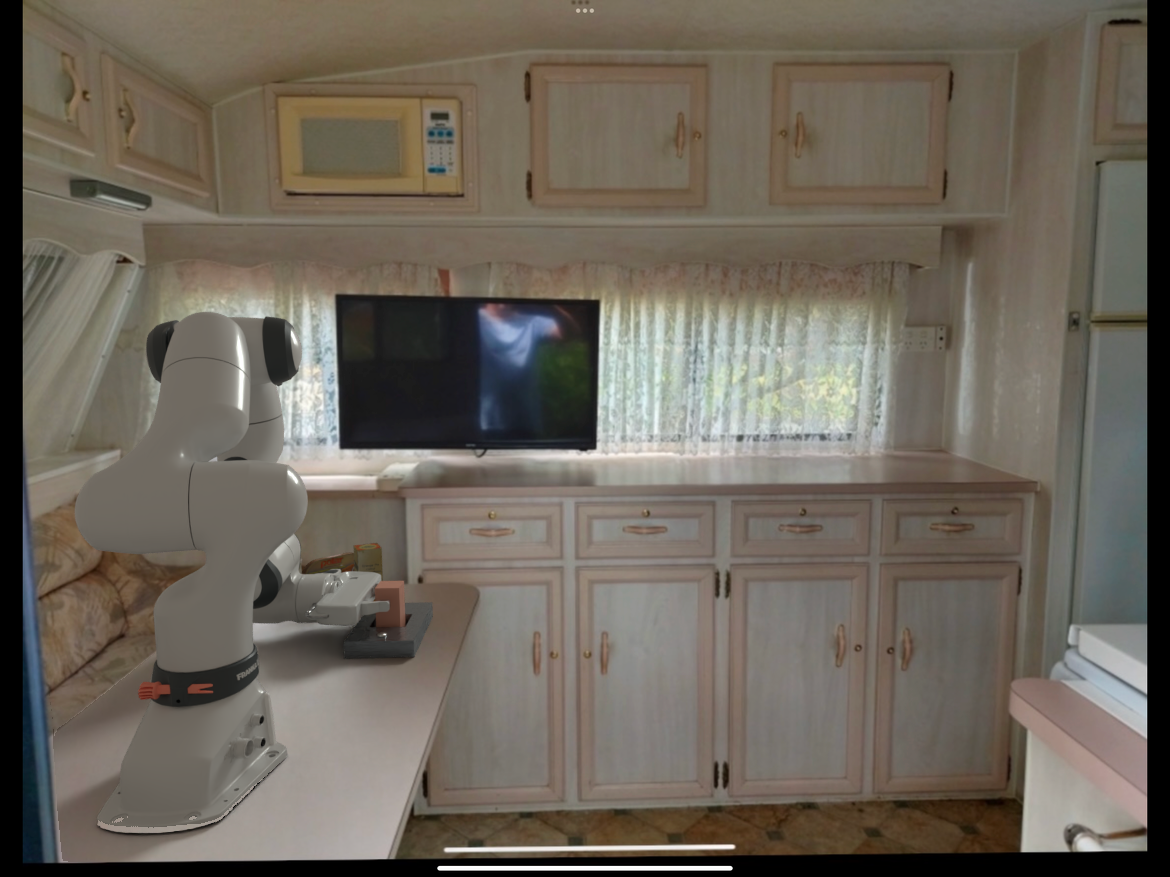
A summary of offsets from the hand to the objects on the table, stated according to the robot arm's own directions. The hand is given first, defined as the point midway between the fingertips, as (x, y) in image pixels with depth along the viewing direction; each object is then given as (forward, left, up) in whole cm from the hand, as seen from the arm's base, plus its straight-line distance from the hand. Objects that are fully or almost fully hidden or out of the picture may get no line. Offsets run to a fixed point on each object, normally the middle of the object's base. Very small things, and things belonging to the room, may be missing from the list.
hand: (395, 597), depth 138 cm
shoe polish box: (+20, +10, -8) cm, 24 cm away
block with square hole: (0, +1, -8) cm, 8 cm away
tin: (+27, +19, -8) cm, 34 cm away
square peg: (0, +1, -8) cm, 8 cm away
